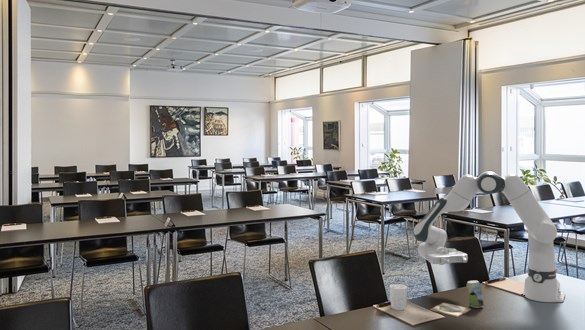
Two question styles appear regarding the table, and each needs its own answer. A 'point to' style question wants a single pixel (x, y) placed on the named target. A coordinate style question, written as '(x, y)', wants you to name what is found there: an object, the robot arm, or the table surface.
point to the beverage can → (475, 294)
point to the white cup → (398, 296)
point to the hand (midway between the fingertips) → (457, 261)
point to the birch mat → (450, 309)
